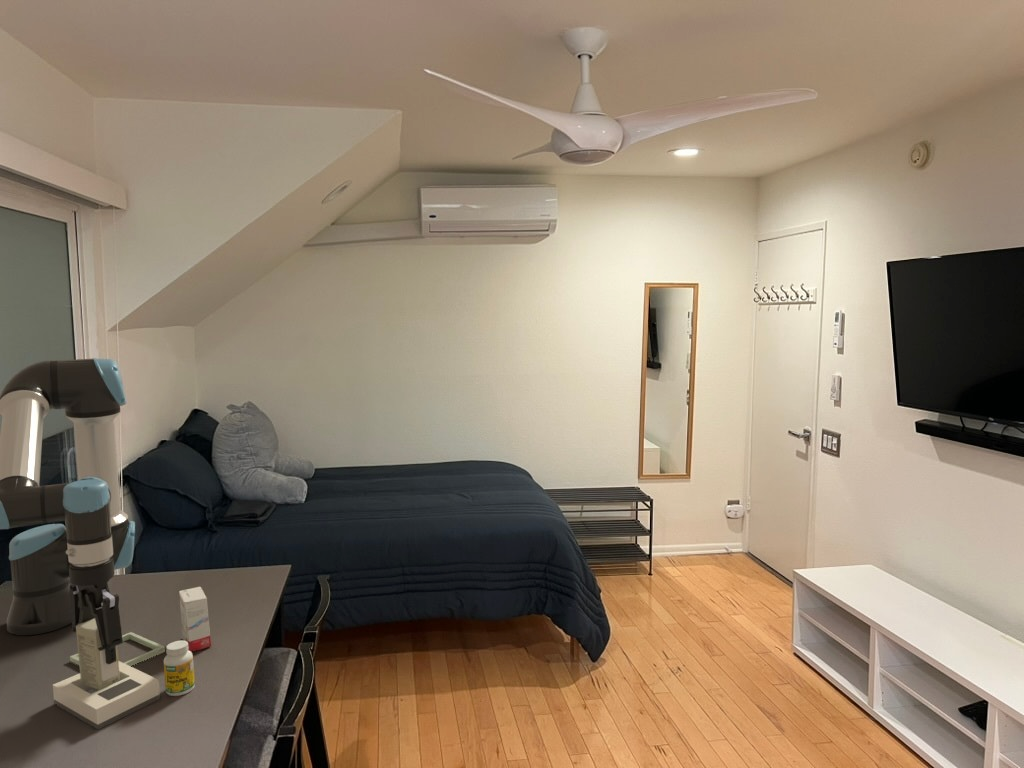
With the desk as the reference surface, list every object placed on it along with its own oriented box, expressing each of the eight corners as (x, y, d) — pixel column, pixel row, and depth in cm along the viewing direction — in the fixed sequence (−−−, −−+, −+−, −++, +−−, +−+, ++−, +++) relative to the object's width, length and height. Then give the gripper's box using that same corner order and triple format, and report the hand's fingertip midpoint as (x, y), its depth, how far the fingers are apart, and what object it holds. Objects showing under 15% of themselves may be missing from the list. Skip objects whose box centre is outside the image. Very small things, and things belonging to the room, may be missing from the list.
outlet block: (54, 704, 139) (52, 684, 139) (115, 676, 149) (114, 658, 149) (98, 729, 131) (96, 709, 130) (159, 698, 141) (158, 679, 140)
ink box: (211, 647, 162) (208, 598, 160) (187, 653, 159) (184, 603, 157) (204, 632, 169) (201, 585, 167) (181, 638, 166) (178, 590, 165)
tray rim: (70, 661, 156) (69, 656, 155) (131, 636, 167) (130, 631, 167) (103, 678, 148) (103, 673, 148) (165, 651, 160) (164, 646, 160)
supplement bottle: (197, 681, 147) (194, 637, 146) (191, 695, 142) (189, 649, 141) (169, 684, 146) (166, 640, 145) (162, 698, 141) (159, 652, 140)
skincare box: (120, 680, 141) (117, 622, 140) (100, 691, 137) (96, 631, 136) (99, 672, 144) (96, 615, 142) (78, 683, 140) (74, 624, 139)
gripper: (45, 556, 140) (54, 667, 142) (98, 576, 129) (107, 695, 132) (85, 545, 146) (93, 651, 149) (138, 563, 136) (146, 677, 138)
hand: (99, 672), depth 140 cm, fingers closed on skincare box, 6 cm apart
